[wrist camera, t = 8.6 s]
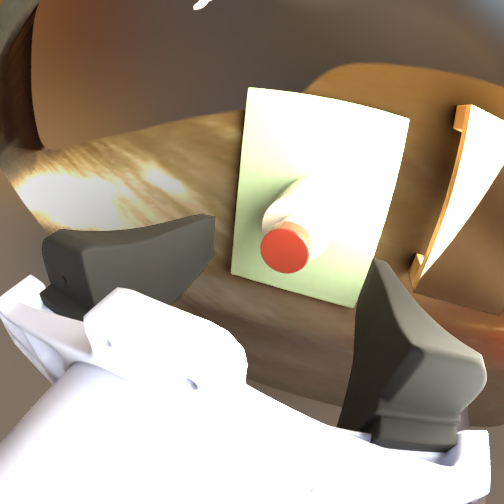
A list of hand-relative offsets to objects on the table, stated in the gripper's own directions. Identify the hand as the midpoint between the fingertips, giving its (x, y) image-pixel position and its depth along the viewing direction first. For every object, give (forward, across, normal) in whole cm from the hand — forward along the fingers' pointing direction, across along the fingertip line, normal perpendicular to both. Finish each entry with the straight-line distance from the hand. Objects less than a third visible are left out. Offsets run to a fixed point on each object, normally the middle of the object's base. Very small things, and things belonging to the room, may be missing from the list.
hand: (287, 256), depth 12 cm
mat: (+7, 0, 0) cm, 7 cm away
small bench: (+7, -12, -3) cm, 14 cm away
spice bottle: (+7, 0, 0) cm, 7 cm away
